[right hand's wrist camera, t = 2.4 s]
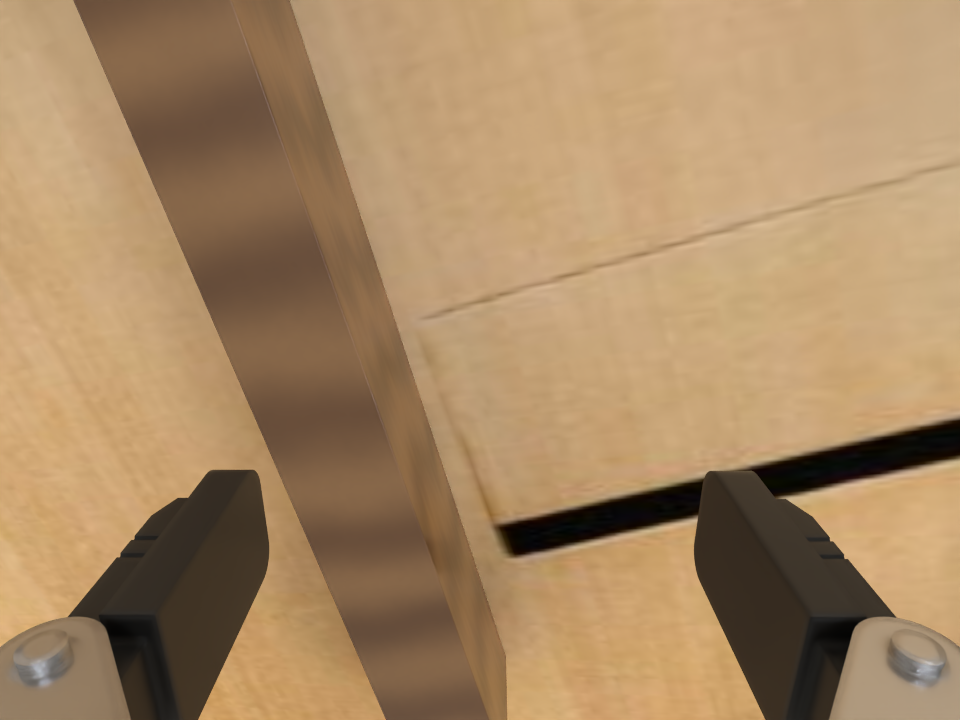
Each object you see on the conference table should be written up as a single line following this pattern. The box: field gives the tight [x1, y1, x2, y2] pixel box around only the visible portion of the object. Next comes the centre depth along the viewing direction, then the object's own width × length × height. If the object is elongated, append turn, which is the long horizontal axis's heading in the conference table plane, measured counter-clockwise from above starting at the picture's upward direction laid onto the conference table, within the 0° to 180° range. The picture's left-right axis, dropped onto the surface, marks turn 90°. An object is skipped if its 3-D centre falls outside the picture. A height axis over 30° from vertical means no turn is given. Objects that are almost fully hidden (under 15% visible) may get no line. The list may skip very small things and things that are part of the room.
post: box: [74, 0, 507, 720], centre depth 25 cm, size 64×5×8 cm, turn 15°
